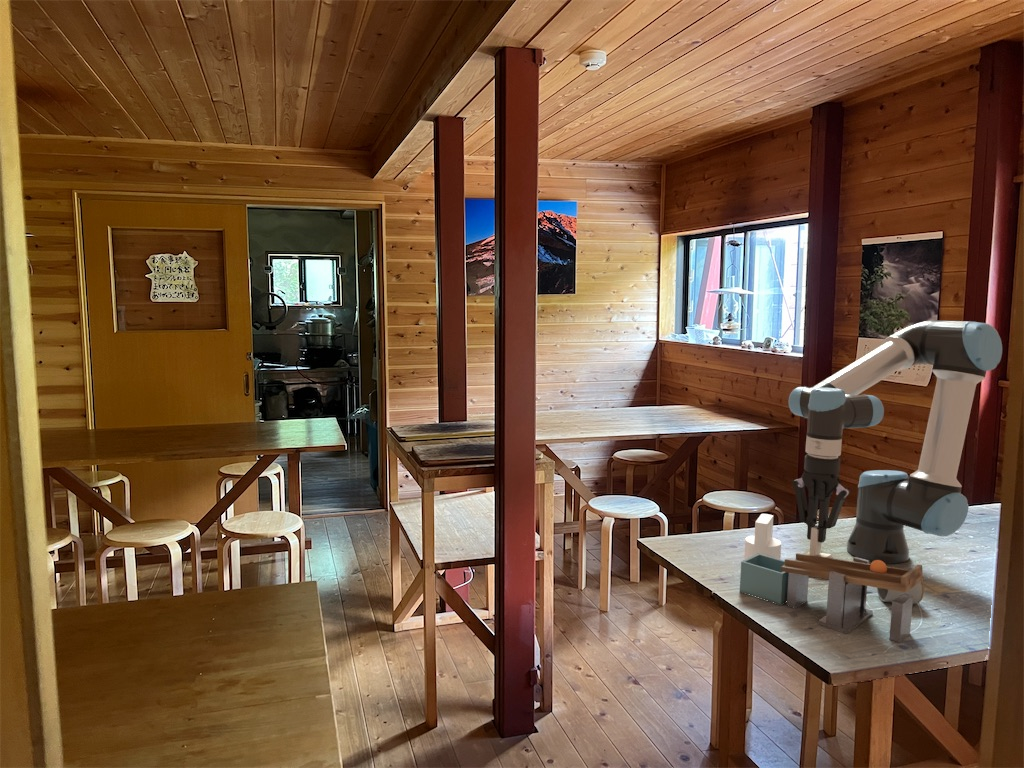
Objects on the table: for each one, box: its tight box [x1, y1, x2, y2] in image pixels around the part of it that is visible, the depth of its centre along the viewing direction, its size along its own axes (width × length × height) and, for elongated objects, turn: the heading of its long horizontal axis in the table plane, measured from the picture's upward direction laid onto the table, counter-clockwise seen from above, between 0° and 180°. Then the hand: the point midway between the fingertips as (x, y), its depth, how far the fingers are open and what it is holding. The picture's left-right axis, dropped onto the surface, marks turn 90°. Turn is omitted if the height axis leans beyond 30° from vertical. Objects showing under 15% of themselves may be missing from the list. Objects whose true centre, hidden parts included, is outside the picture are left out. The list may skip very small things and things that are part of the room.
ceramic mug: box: [876, 579, 925, 604], centre depth 171 cm, size 11×8×8 cm
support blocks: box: [786, 556, 914, 644], centre depth 159 cm, size 14×24×12 cm, turn 44°
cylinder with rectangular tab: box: [743, 513, 782, 561], centre depth 193 cm, size 9×9×12 cm
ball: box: [869, 560, 888, 574], centre depth 154 cm, size 3×3×3 cm
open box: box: [739, 553, 789, 606], centre depth 173 cm, size 8×10×8 cm
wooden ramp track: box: [781, 552, 924, 592], centre depth 161 cm, size 15×26×3 cm, turn 44°
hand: (814, 554), depth 172 cm, fingers closed
